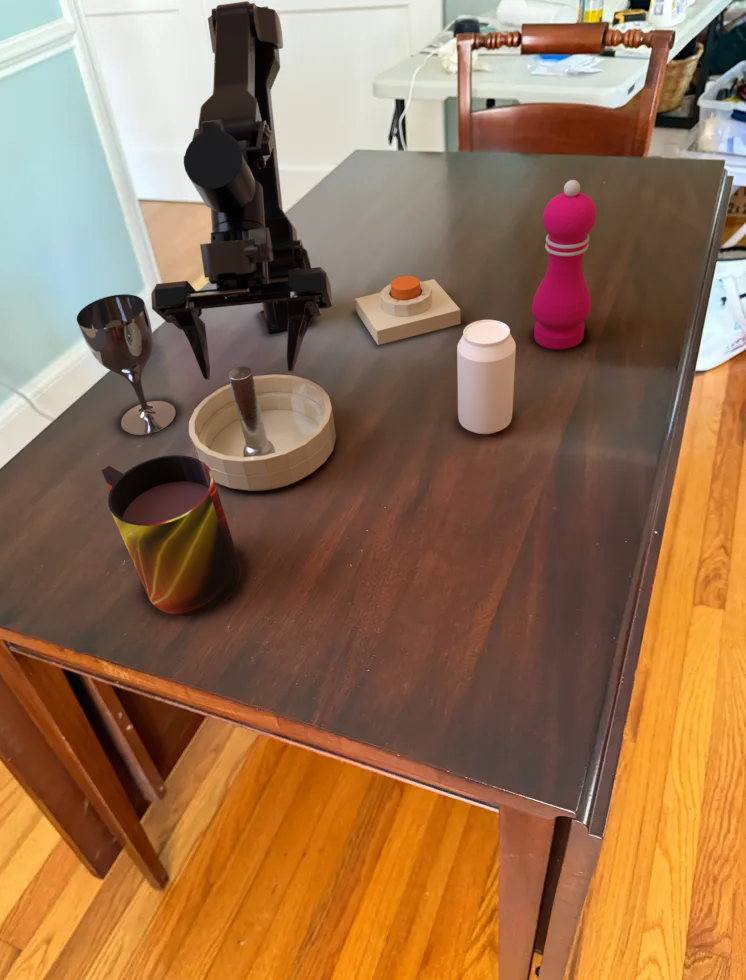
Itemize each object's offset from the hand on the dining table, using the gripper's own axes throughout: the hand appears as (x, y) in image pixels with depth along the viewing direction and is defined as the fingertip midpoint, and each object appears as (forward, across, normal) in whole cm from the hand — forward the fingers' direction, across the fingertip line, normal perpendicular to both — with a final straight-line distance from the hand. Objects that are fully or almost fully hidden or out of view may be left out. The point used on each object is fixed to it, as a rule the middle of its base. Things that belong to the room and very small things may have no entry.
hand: (248, 375), depth 84 cm
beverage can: (+6, +26, +10) cm, 28 cm away
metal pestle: (+9, 0, +5) cm, 10 cm away
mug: (+21, -8, -5) cm, 23 cm away
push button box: (-13, +18, +28) cm, 35 cm away
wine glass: (+1, -16, +15) cm, 22 cm away
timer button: (-15, +18, +25) cm, 34 cm away
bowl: (+7, 0, +9) cm, 11 cm away
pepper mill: (-6, +37, +22) cm, 44 cm away
